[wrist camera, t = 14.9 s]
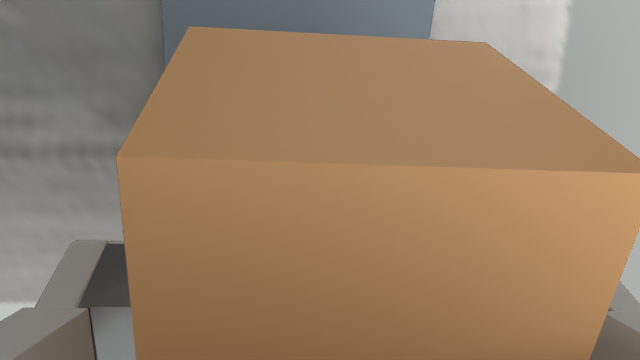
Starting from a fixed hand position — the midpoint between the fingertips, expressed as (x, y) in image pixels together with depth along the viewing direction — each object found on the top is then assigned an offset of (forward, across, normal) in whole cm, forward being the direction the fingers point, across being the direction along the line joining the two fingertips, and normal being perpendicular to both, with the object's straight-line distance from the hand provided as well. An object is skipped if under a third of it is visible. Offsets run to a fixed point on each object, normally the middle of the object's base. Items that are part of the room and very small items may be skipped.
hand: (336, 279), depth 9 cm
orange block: (+2, 0, -1) cm, 2 cm away
